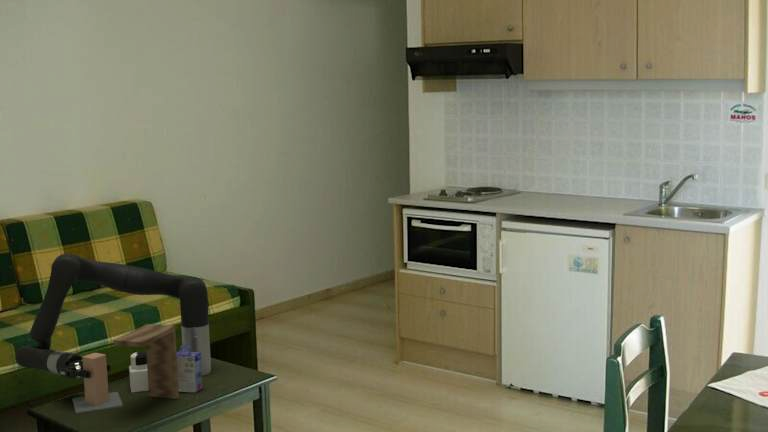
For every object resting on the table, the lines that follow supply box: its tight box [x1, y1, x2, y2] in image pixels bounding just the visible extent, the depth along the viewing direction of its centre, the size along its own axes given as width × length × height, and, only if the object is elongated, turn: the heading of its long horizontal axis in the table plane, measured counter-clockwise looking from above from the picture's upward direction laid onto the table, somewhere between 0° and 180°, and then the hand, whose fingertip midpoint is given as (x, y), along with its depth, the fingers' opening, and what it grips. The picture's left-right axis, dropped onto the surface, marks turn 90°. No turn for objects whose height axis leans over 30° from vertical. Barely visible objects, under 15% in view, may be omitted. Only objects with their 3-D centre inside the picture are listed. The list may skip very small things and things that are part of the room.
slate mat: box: [72, 391, 124, 415], centre depth 290 cm, size 14×14×1 cm
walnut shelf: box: [112, 323, 180, 400], centre depth 285 cm, size 10×19×24 cm, turn 163°
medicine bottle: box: [128, 351, 149, 393], centre depth 303 cm, size 7×7×12 cm
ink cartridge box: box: [176, 345, 203, 393], centre depth 300 cm, size 10×6×14 cm, turn 78°
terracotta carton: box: [81, 352, 109, 405], centre depth 288 cm, size 5×5×15 cm
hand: (99, 371), depth 287 cm, fingers open, 7 cm apart
